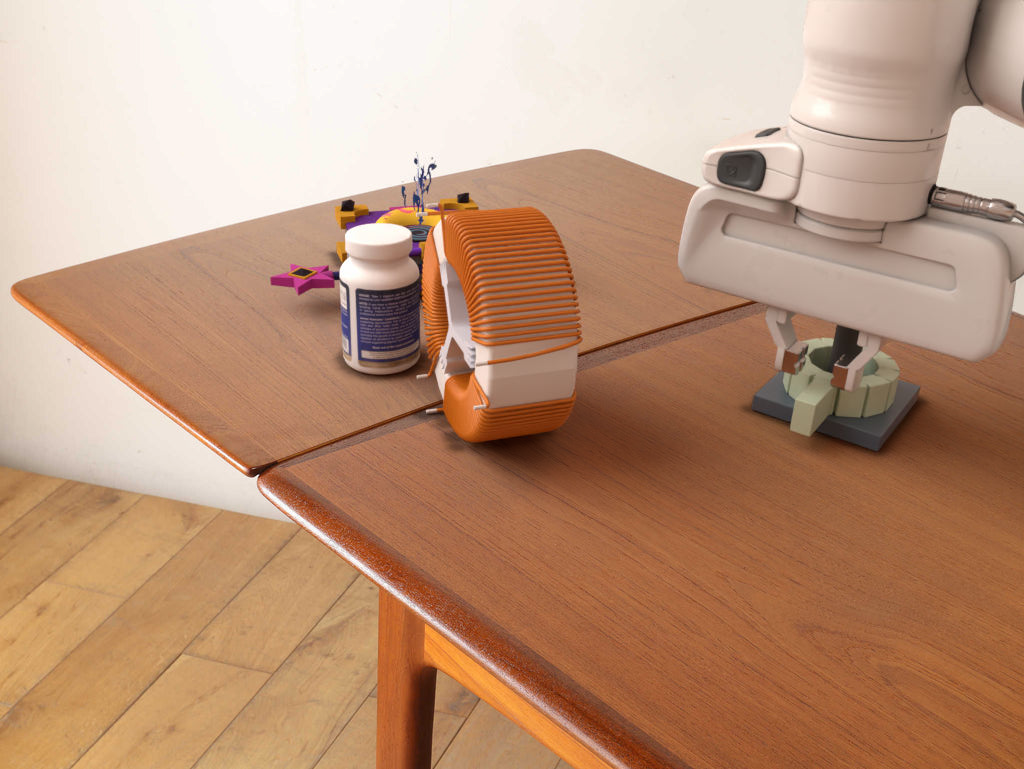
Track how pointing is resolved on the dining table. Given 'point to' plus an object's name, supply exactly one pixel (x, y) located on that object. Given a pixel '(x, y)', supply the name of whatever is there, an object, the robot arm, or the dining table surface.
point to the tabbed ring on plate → (823, 400)
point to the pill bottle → (380, 300)
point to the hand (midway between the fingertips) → (816, 378)
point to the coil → (500, 321)
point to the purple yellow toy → (361, 215)
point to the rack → (849, 429)
